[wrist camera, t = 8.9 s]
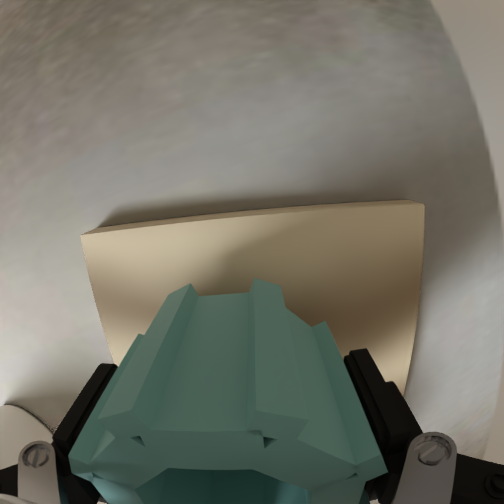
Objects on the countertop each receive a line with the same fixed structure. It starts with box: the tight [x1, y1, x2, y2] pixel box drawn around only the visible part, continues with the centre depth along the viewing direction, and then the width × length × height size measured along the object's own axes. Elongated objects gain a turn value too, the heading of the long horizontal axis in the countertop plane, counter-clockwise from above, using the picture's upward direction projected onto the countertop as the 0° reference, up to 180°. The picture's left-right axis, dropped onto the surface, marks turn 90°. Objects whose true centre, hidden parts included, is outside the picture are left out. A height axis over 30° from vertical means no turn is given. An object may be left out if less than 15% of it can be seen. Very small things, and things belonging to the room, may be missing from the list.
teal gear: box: [68, 278, 388, 504], centre depth 8 cm, size 7×7×6 cm
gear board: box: [80, 200, 425, 396], centre depth 13 cm, size 20×14×6 cm
